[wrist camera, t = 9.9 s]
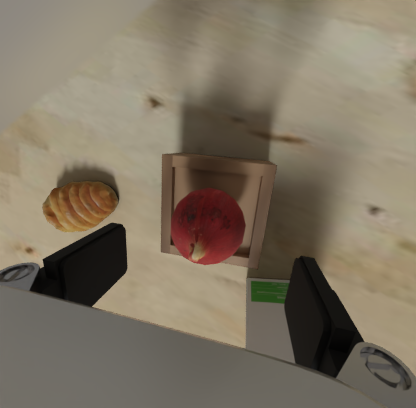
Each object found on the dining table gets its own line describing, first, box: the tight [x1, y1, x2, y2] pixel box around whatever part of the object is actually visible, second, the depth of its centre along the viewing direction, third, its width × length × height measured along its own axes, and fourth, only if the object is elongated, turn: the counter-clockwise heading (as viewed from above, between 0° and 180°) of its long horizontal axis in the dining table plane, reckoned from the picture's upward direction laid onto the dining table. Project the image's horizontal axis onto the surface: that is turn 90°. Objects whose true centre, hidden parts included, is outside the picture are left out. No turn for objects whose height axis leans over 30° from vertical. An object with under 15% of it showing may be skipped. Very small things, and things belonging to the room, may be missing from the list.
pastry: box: [42, 181, 118, 232], centre depth 25 cm, size 9×7×4 cm
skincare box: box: [246, 278, 295, 363], centre depth 19 cm, size 8×7×16 cm
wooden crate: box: [161, 153, 277, 269], centre depth 21 cm, size 10×10×6 cm
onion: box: [171, 188, 246, 265], centre depth 15 cm, size 6×6×8 cm
